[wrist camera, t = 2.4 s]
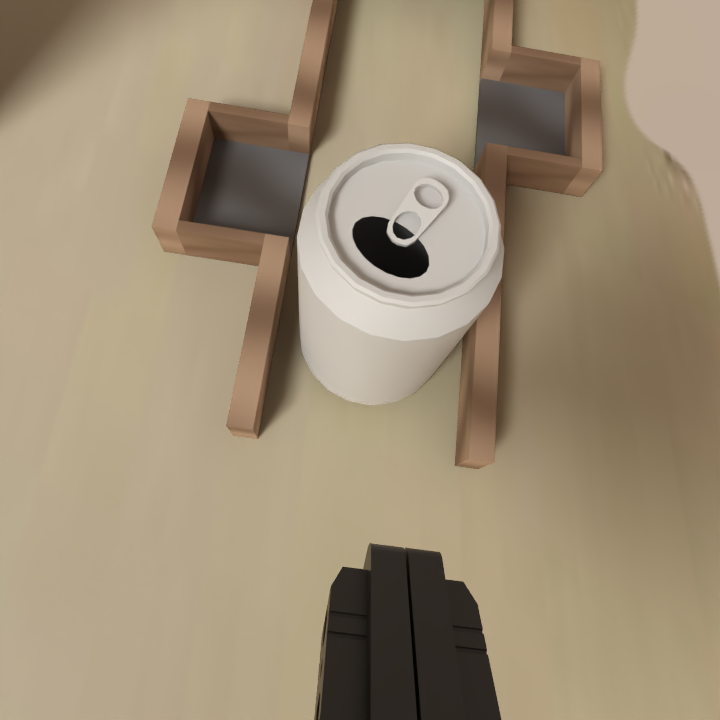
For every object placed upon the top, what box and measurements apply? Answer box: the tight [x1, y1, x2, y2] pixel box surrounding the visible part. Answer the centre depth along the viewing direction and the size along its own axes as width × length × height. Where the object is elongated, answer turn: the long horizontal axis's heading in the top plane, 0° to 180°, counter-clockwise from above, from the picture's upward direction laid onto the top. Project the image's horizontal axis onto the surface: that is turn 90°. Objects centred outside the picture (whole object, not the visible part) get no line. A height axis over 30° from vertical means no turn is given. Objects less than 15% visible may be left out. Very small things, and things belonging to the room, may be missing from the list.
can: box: [297, 143, 504, 405], centre depth 23 cm, size 8×8×12 cm
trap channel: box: [152, 0, 603, 469], centre depth 30 cm, size 35×24×6 cm
